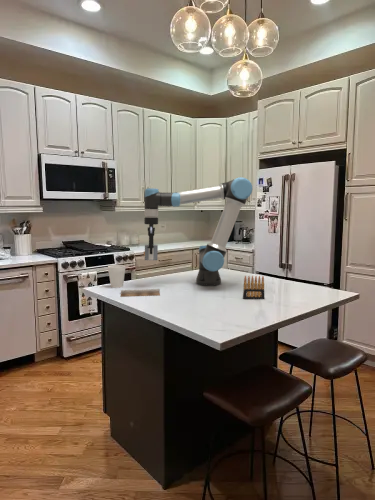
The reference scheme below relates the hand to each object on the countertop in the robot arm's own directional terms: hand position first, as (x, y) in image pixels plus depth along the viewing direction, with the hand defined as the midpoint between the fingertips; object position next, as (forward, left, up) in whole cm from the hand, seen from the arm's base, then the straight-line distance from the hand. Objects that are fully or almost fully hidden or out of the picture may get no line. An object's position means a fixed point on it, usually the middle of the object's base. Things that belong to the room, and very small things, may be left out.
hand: (151, 259), depth 198 cm
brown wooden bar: (+6, +13, -16) cm, 22 cm away
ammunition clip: (-51, +26, -18) cm, 60 cm away
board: (+6, +13, -17) cm, 23 cm away
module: (0, 0, 0) cm, 0 cm away
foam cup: (+19, -4, -18) cm, 26 cm away
